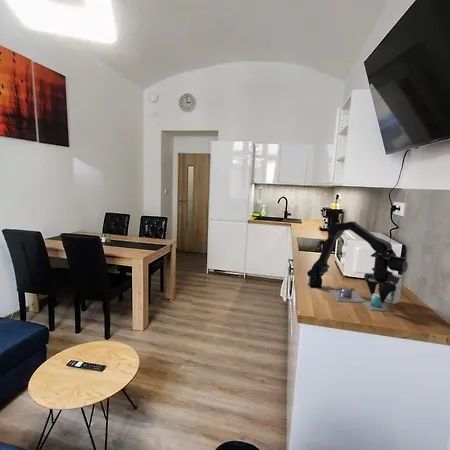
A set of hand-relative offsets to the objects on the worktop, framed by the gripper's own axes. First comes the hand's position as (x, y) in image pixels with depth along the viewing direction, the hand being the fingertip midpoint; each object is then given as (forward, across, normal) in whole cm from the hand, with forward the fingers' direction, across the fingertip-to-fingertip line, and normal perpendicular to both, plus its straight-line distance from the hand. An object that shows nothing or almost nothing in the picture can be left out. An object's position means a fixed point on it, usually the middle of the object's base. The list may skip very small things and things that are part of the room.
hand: (377, 298), depth 137 cm
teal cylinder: (+4, 0, 0) cm, 4 cm away
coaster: (+4, 0, 0) cm, 4 cm away
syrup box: (+4, +9, -12) cm, 16 cm away
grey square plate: (+4, +12, +10) cm, 16 cm away
